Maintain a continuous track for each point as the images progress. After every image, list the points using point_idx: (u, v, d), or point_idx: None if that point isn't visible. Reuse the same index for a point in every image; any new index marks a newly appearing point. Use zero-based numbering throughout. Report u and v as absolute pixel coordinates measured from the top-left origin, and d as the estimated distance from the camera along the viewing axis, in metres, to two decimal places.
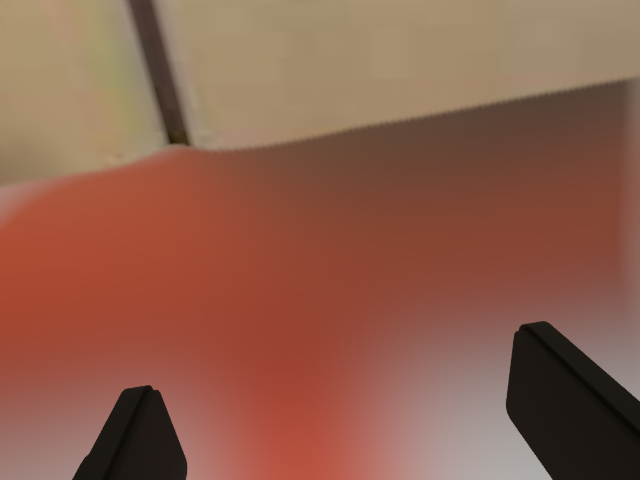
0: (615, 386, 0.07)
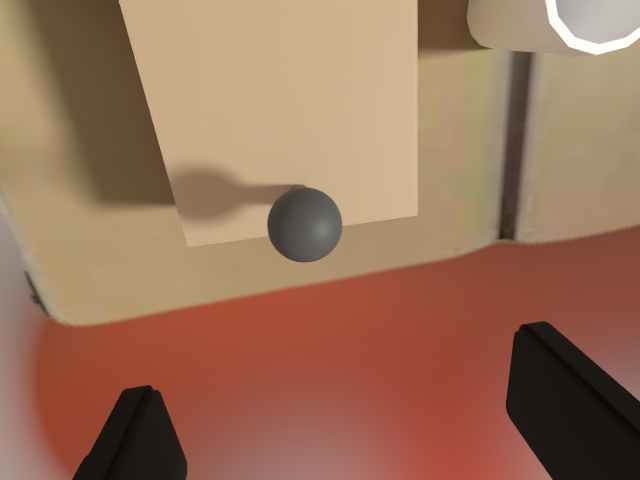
0: (615, 386, 0.07)
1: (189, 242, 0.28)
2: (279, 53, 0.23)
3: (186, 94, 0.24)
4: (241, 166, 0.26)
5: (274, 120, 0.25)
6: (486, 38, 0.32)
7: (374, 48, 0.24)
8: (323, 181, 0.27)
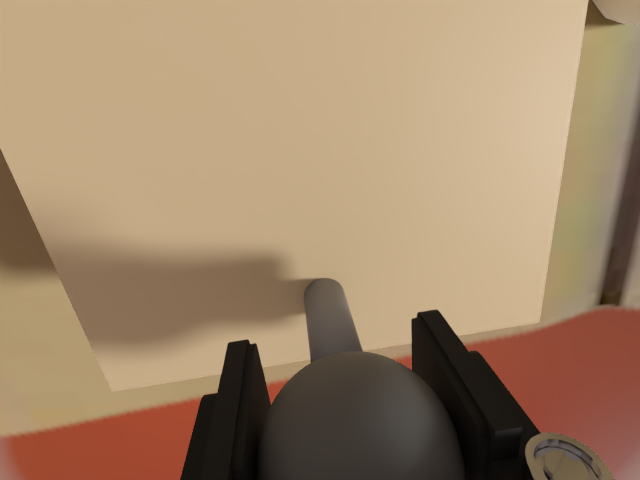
0: (471, 363, 0.08)
1: (114, 384, 0.15)
2: (285, 11, 0.10)
3: (78, 106, 0.11)
4: (208, 249, 0.13)
5: (274, 158, 0.12)
6: (632, 2, 0.19)
7: (495, 1, 0.11)
8: (370, 271, 0.14)
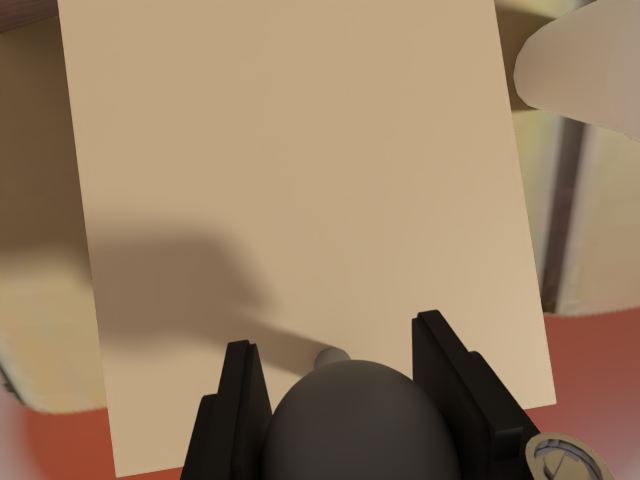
0: (471, 363, 0.08)
1: (120, 467, 0.14)
2: (300, 139, 0.15)
3: (149, 202, 0.15)
4: (230, 316, 0.15)
5: (290, 238, 0.15)
6: (539, 103, 0.27)
7: (446, 129, 0.15)
8: (375, 341, 0.15)
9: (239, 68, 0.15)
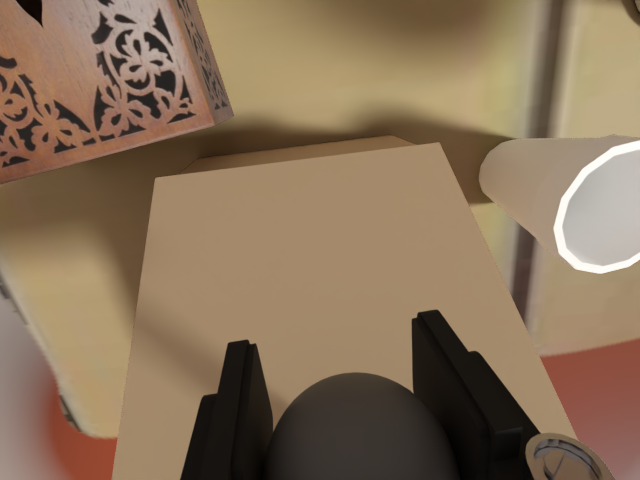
0: (472, 363, 0.08)
1: None
2: (314, 258, 0.19)
3: (189, 308, 0.18)
4: None
5: (305, 336, 0.17)
6: (497, 204, 0.34)
7: (431, 248, 0.19)
8: None
9: (270, 214, 0.21)
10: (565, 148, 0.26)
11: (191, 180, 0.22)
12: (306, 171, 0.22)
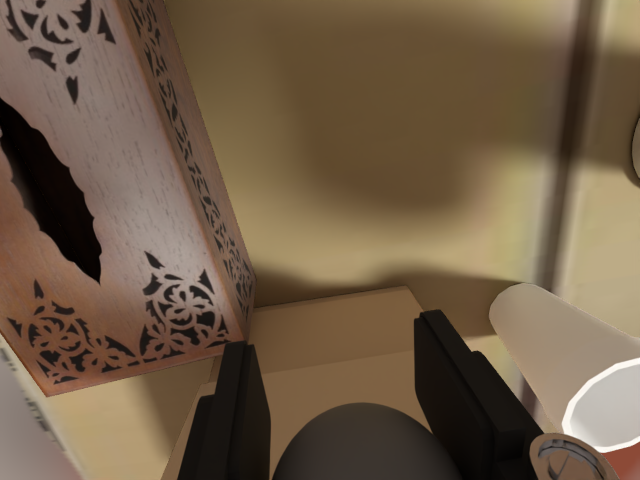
0: (474, 363, 0.08)
1: None
2: None
3: None
4: None
5: None
6: None
7: None
8: None
9: (300, 406, 0.22)
10: (571, 338, 0.28)
11: None
12: (334, 371, 0.25)
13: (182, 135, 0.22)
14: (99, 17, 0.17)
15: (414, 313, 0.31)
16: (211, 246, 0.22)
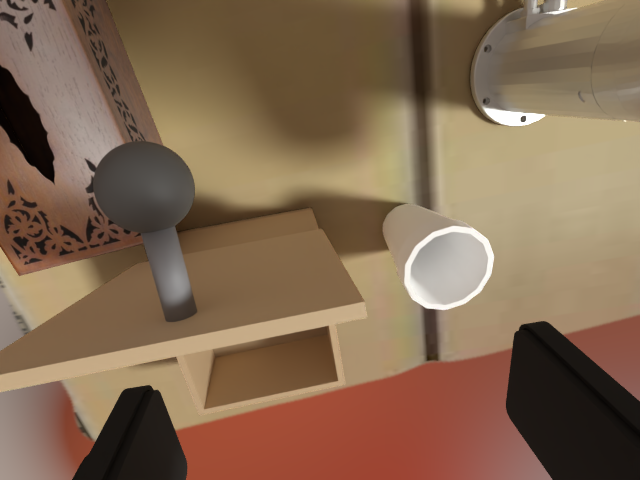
0: (615, 386, 0.07)
1: None
2: (215, 265, 0.28)
3: (121, 289, 0.26)
4: (128, 309, 0.21)
5: (189, 285, 0.24)
6: None
7: (294, 252, 0.28)
8: (220, 302, 0.20)
9: (199, 260, 0.31)
10: (416, 225, 0.38)
11: None
12: (231, 247, 0.34)
13: (110, 79, 0.32)
14: None
15: (308, 220, 0.41)
16: None
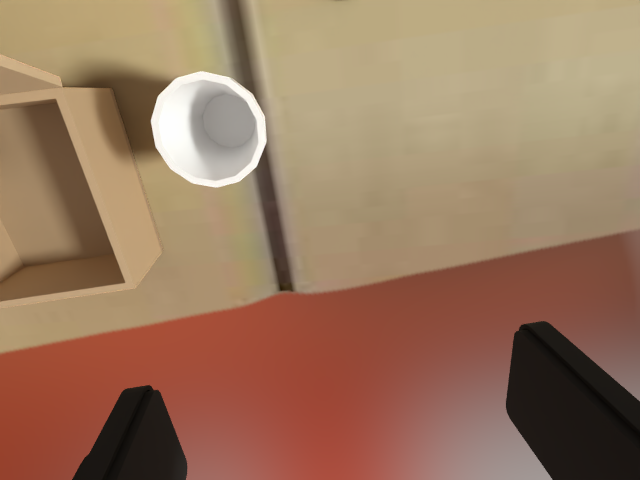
0: (615, 386, 0.07)
1: None
2: None
3: None
4: None
5: None
6: None
7: None
8: None
9: None
10: None
11: None
12: None
13: None
14: None
15: None
16: None
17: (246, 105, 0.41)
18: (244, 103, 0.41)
